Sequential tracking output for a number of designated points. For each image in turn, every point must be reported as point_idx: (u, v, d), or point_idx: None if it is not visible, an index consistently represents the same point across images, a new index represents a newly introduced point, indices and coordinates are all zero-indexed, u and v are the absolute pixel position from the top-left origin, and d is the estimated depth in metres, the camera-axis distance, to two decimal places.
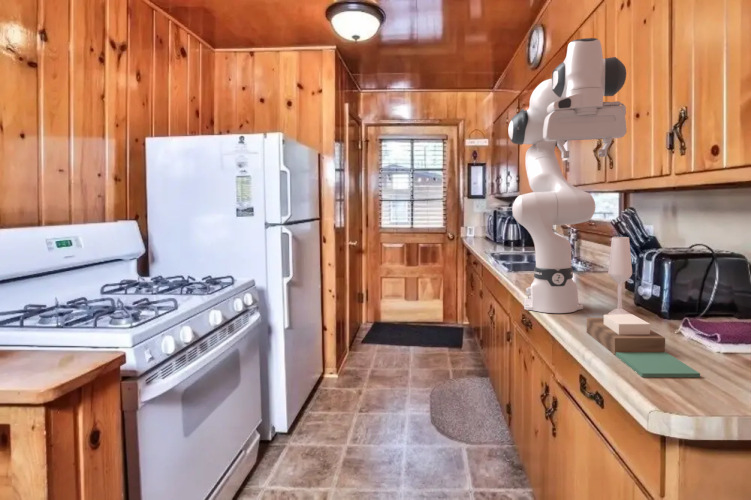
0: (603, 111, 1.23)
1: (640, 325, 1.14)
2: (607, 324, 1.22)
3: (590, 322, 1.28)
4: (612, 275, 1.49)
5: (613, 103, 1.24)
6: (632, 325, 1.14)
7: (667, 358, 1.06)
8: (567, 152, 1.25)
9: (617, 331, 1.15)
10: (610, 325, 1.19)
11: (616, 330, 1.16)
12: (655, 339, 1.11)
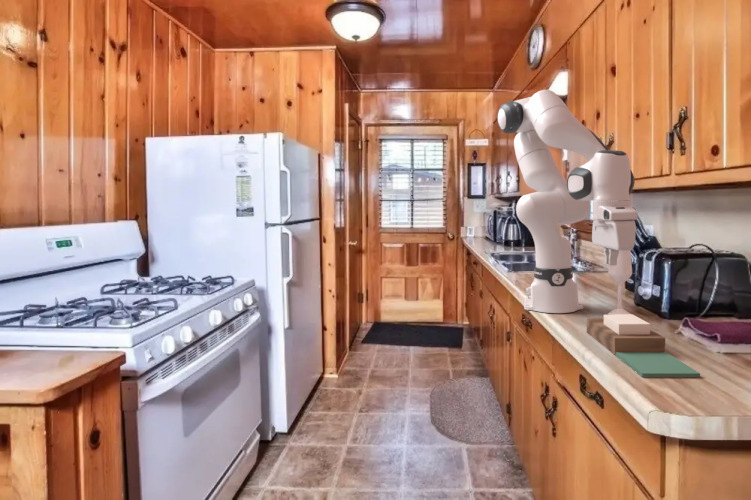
0: None
1: (640, 325, 1.14)
2: (607, 324, 1.22)
3: (590, 322, 1.28)
4: (612, 275, 1.49)
5: None
6: (632, 325, 1.14)
7: (667, 358, 1.06)
8: None
9: (617, 331, 1.15)
10: (610, 325, 1.19)
11: (616, 330, 1.16)
12: (655, 339, 1.11)
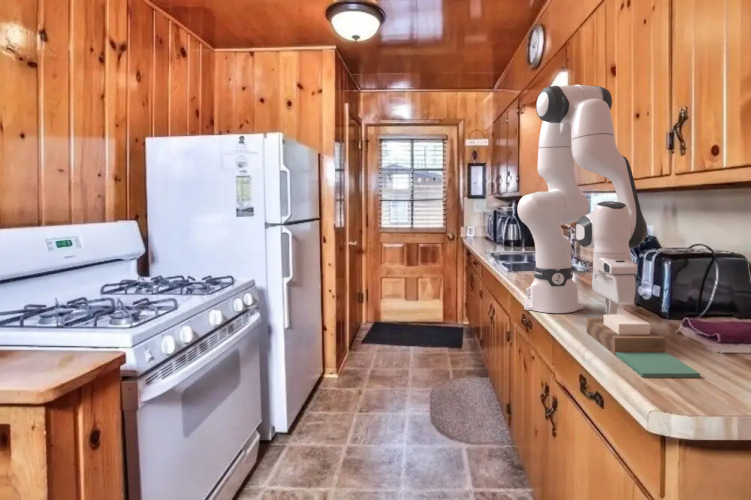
0: None
1: (640, 325, 1.14)
2: (607, 324, 1.22)
3: (590, 322, 1.28)
4: None
5: None
6: (632, 325, 1.14)
7: (667, 358, 1.06)
8: None
9: (617, 331, 1.15)
10: (610, 325, 1.19)
11: (616, 330, 1.16)
12: (655, 339, 1.11)
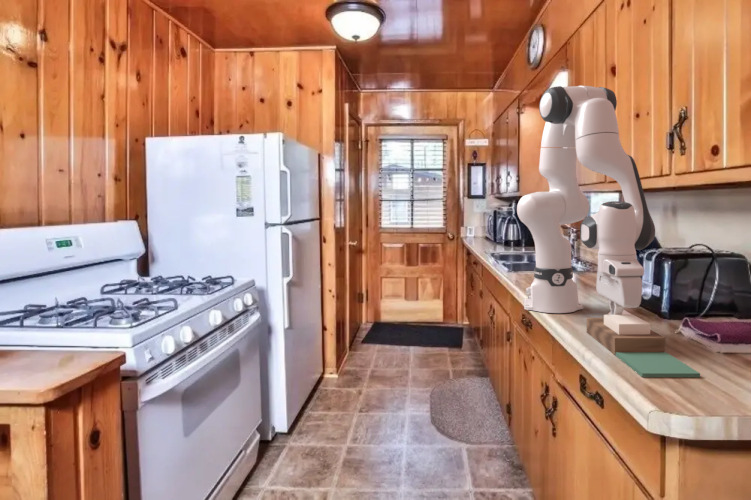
0: None
1: (640, 325, 1.14)
2: (607, 324, 1.22)
3: (590, 322, 1.28)
4: None
5: None
6: (632, 325, 1.14)
7: (667, 358, 1.06)
8: None
9: (617, 331, 1.15)
10: (611, 325, 1.19)
11: (616, 330, 1.16)
12: (655, 339, 1.11)
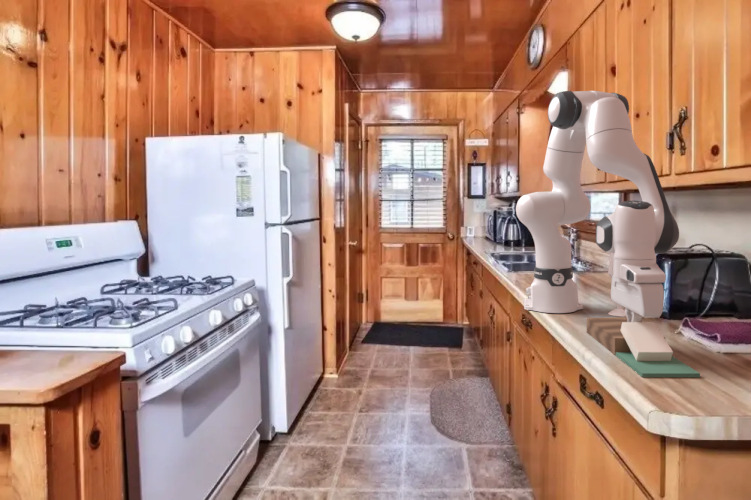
0: None
1: (662, 353, 1.04)
2: (624, 336, 1.11)
3: (590, 322, 1.28)
4: (612, 275, 1.49)
5: None
6: (653, 353, 1.04)
7: None
8: None
9: (635, 356, 1.06)
10: (628, 341, 1.09)
11: (634, 354, 1.06)
12: None
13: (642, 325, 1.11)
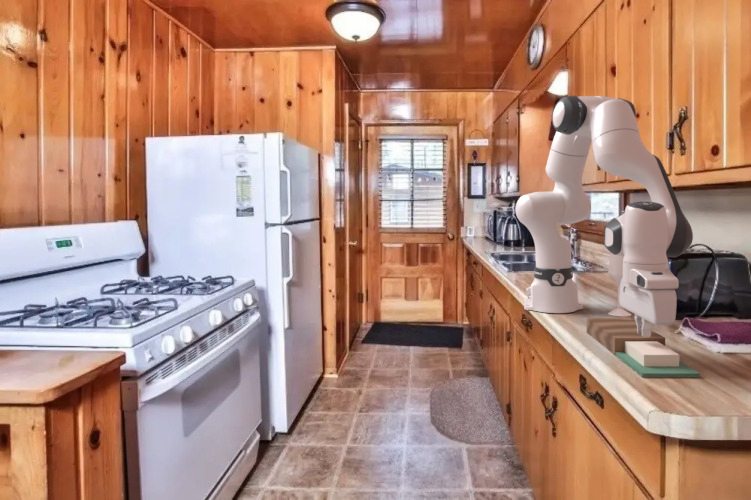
0: None
1: (668, 356, 1.01)
2: (629, 353, 1.09)
3: (590, 322, 1.28)
4: (612, 275, 1.49)
5: None
6: (659, 356, 1.01)
7: None
8: None
9: (642, 362, 1.02)
10: (633, 354, 1.06)
11: (640, 361, 1.03)
12: (655, 339, 1.11)
13: (645, 342, 1.10)
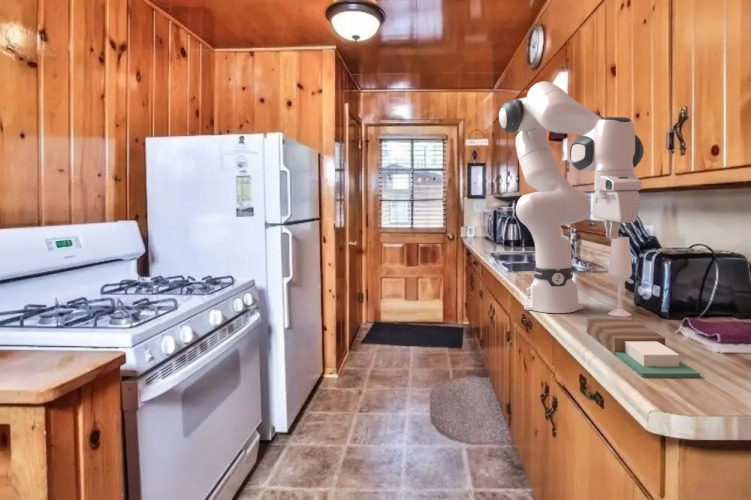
0: None
1: (668, 356, 1.01)
2: (629, 353, 1.09)
3: (590, 322, 1.28)
4: (612, 275, 1.49)
5: None
6: (659, 356, 1.01)
7: None
8: None
9: (642, 362, 1.02)
10: (633, 354, 1.06)
11: (640, 361, 1.03)
12: (655, 339, 1.11)
13: (645, 342, 1.10)
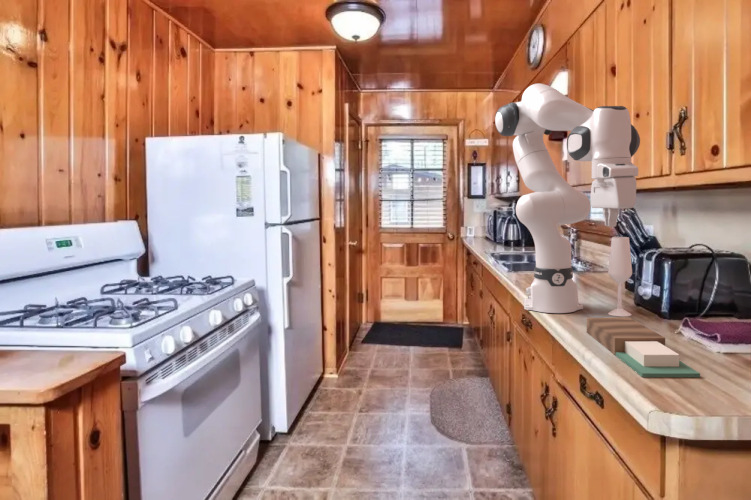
0: None
1: (668, 356, 1.01)
2: (629, 353, 1.09)
3: (590, 322, 1.28)
4: (612, 275, 1.49)
5: None
6: (659, 356, 1.01)
7: None
8: None
9: (642, 362, 1.02)
10: (633, 354, 1.06)
11: (640, 361, 1.03)
12: (655, 339, 1.11)
13: (645, 342, 1.10)
